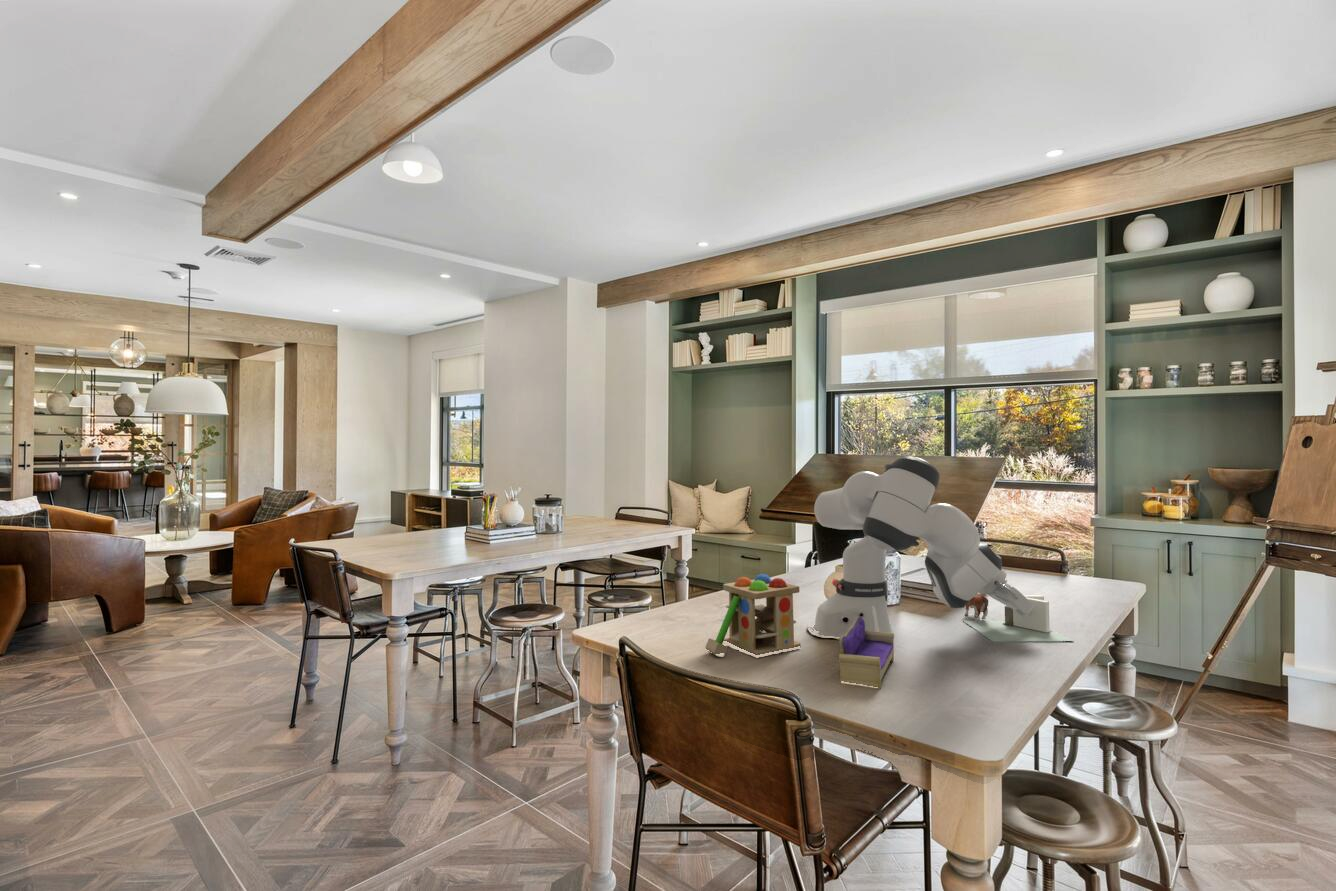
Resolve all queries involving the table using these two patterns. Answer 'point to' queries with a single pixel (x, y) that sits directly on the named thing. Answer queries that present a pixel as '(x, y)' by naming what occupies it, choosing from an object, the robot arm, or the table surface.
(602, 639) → the table surface
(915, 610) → the table surface
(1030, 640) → the mat
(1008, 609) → the fixed rail
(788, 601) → the pounding bench toy
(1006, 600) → the robot arm
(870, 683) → the toy sofa
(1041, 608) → the white rectangular slab
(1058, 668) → the table surface
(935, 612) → the table surface
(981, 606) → the bull figurine
